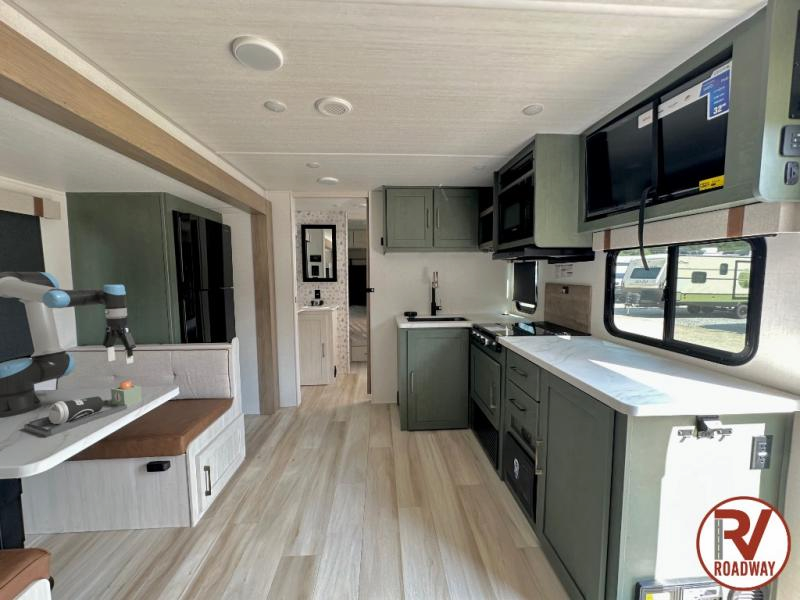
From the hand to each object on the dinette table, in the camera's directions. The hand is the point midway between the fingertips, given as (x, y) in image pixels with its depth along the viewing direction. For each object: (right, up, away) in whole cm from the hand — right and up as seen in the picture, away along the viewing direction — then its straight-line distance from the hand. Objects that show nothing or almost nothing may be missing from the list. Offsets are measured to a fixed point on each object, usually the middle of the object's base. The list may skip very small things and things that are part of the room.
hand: (120, 361), depth 149 cm
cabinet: (0, -21, +3) cm, 21 cm away
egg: (0, -16, +3) cm, 17 cm away
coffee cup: (-6, -18, -5) cm, 20 cm away
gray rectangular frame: (-6, -22, -13) cm, 26 cm away
